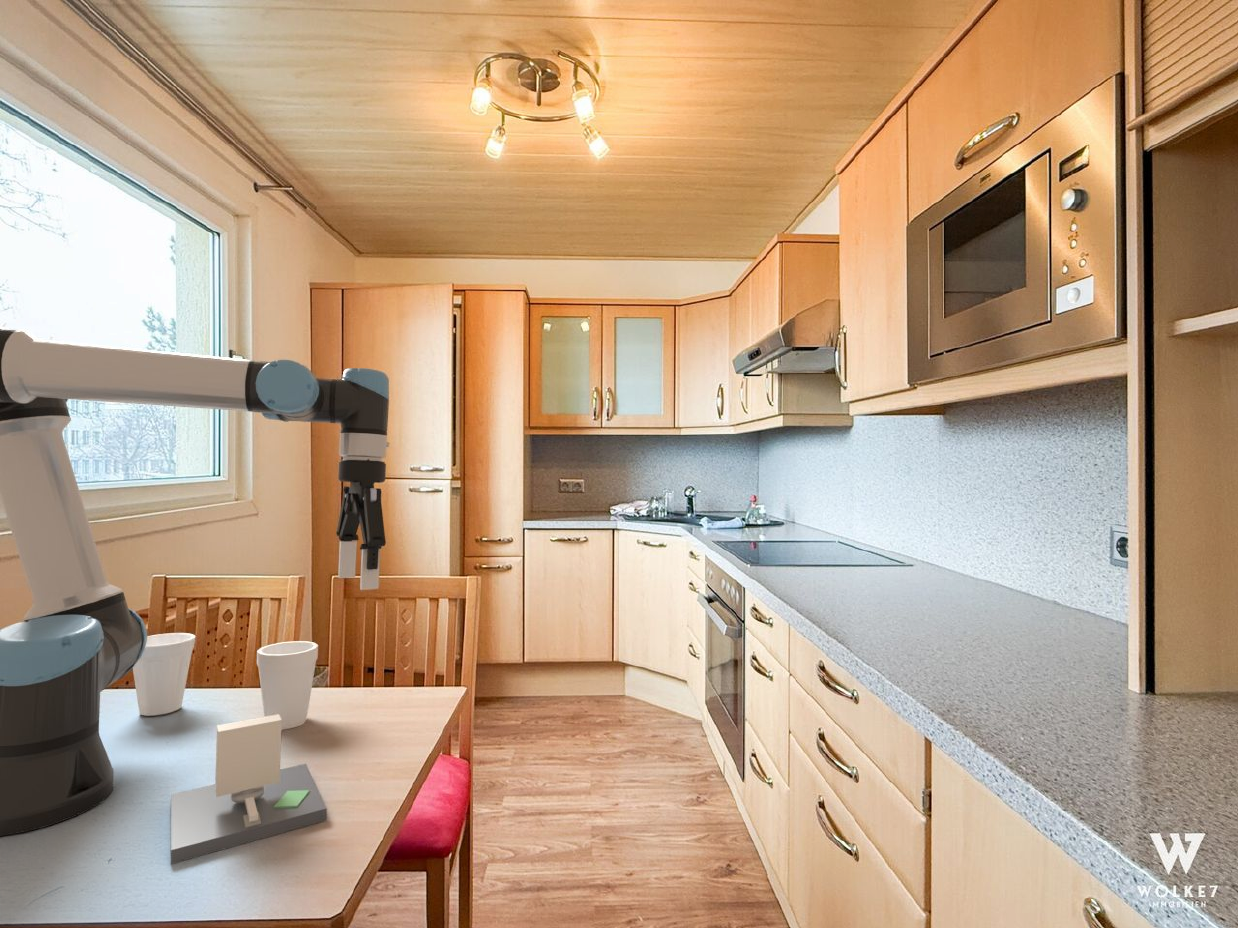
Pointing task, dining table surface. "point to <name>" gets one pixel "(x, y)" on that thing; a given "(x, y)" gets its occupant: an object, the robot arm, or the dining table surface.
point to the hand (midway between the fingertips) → (357, 583)
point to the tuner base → (242, 814)
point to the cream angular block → (248, 759)
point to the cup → (163, 672)
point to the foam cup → (287, 680)
